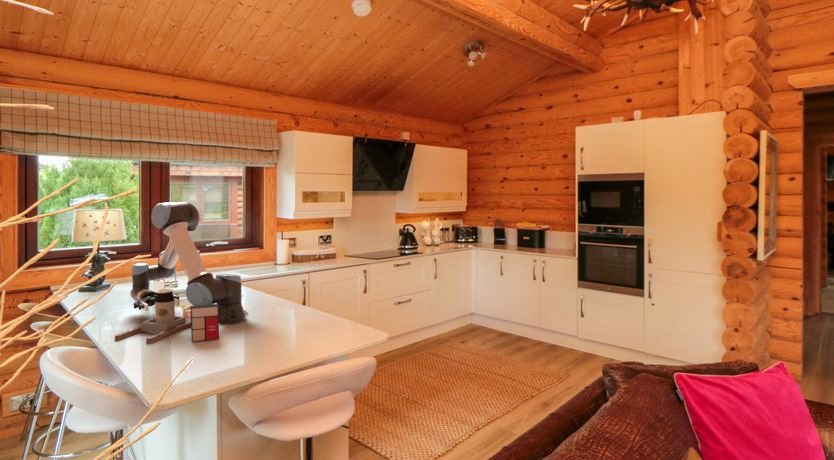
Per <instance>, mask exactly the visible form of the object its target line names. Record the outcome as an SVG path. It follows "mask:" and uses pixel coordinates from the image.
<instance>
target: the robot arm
mask: <svg viewBox="0 0 834 460" xmlns="http://www.w3.org/2000/svg"><path fill="white" fill-rule="evenodd" d="M151 222H152V225H153V226H154V227H155V228H158V229H161V231H162V233H163V234H164V235H166V236H168V237H169V238H168V239H169V241H168V243H167V245H166V247H165V249H164V251H163V254H162V255H161V257H160V259H159V261H158V262H157V264H156V265H149V264H148V263H145V262H143V263H142V262H141V263H134V264H133V265H132V267H131V279H132V286H131V288H132V289H131V290H130V297H131V299H133V301H134V302H133V309H134V310H135V309H137V308H138V310H140V311H141V310H144V311H146V312H148V311H149V307H154V306H155V297H156V292H155V291H153V290H151V289H150V282H151V281H152V282H153V281H157V280H161V279H168V278H171V277H173V276H175V275H176V270H177V268H176V266H175V265H176V263H177V261H178V260H179V261H180V263H181V265H182V267H183V270H184V273H185V275H186V276H187V278H188V280H187V283H186V285H187V286H186V289H185V292H186V293H185V297H186V299H187V301H188V302H189V304H191V306H196V305H209V304H218V307H219V325H231V324H237V323H242V322H244V321H245V320H246V318H247V317H246V313H245V310H244V307H243V302H242V278H241V276H240V275H239V274H233V273H216V275H215V277H214V274H213V273H212V272H209V271H208V270H207V269H206V267H205V265H204V261H203V260H202V258H201V256H200V254H199V251H198V249H197V247H196V245H195V242H194V241H193V238H192V236H191V234H192V233H193V232H195V231H196V230H197V228H198V226H199V223H200V213H199V210H198V208H197V207H196V206H195V205H194V204H193V203H191V202H188V201H181V202H178V201H177V202H161V203H157V204H155V206H154V207H153V208H152V211H151ZM174 303H175V306H176V307H179V306H180V296H177V295H174Z"/></svg>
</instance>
